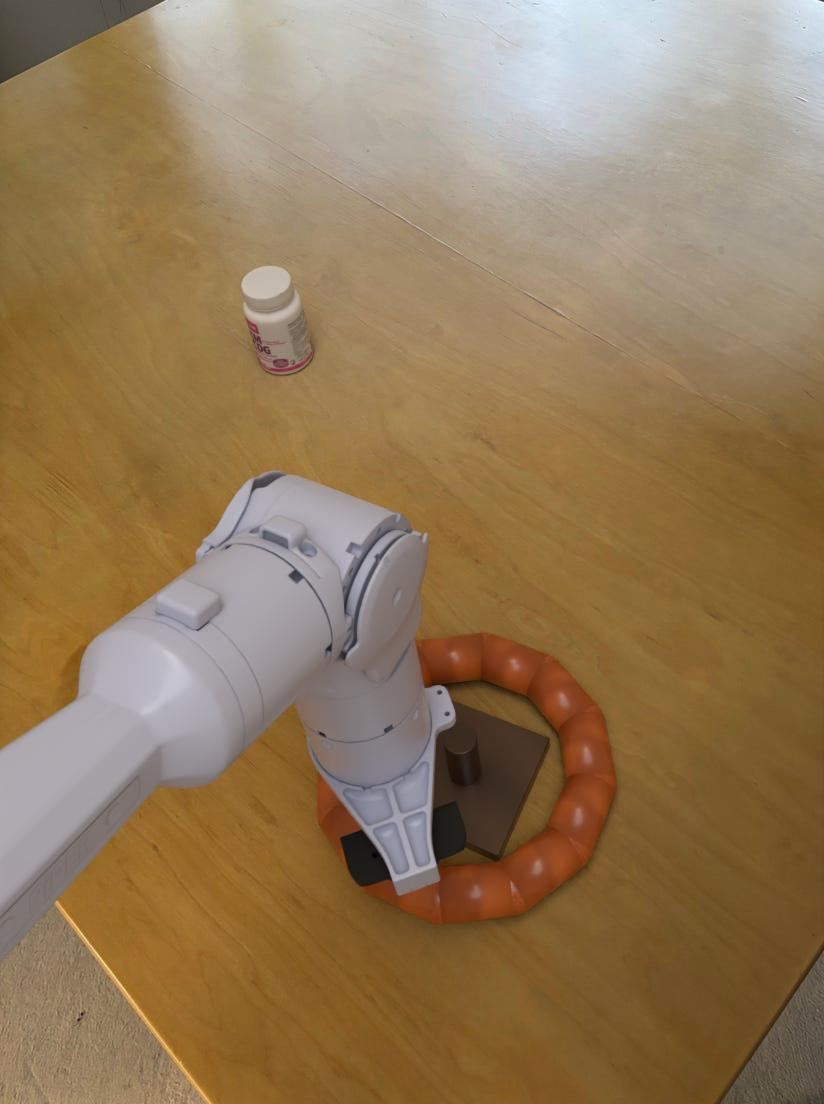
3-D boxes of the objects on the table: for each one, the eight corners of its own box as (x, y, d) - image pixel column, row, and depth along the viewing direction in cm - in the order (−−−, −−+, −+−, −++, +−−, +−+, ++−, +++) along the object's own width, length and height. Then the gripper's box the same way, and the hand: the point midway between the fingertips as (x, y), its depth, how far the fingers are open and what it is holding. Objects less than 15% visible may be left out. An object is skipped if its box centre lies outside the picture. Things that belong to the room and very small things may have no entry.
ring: (545, 982, 59) (544, 967, 57) (267, 852, 64) (256, 834, 62) (651, 706, 69) (654, 684, 67) (403, 614, 74) (398, 591, 72)
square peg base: (498, 862, 63) (494, 827, 59) (379, 810, 66) (367, 772, 61) (550, 745, 68) (549, 704, 63) (436, 700, 70) (428, 658, 66)
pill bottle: (248, 369, 91) (224, 293, 84) (275, 332, 94) (254, 256, 87) (297, 382, 90) (277, 306, 83) (324, 344, 92) (305, 268, 86)
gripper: (498, 802, 43) (510, 909, 54) (398, 531, 52) (425, 668, 63) (329, 862, 42) (375, 960, 53) (256, 575, 51) (308, 707, 62)
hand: (394, 804), depth 58 cm, fingers open, 7 cm apart
